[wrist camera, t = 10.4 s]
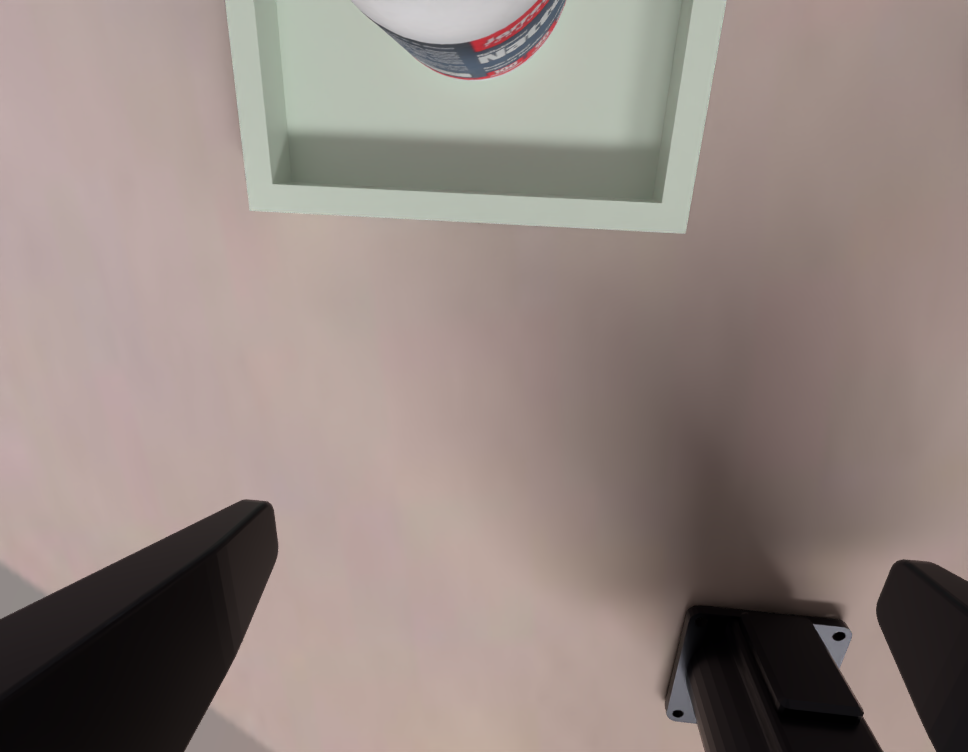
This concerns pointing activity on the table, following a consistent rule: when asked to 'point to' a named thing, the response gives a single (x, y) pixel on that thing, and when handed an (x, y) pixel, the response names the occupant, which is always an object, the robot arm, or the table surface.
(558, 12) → the pill bottle
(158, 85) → the table surface
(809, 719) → the robot arm
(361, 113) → the tray
